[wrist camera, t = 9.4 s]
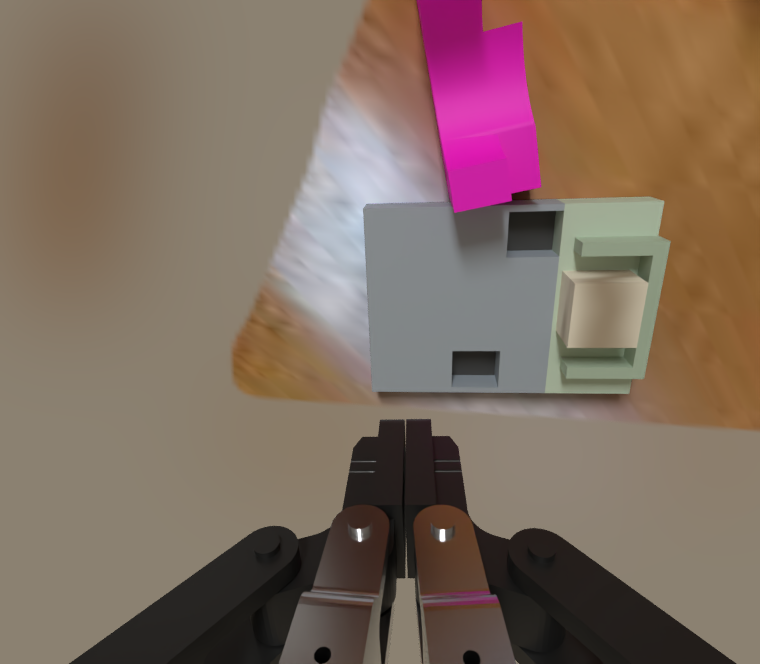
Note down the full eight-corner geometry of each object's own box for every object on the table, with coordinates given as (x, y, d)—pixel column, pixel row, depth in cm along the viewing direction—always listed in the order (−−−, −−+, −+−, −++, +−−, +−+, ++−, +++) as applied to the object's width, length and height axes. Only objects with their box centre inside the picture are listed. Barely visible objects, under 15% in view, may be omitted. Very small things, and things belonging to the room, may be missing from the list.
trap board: (649, 196, 38) (677, 205, 33) (618, 379, 44) (638, 406, 40) (366, 204, 40) (360, 213, 35) (374, 378, 46) (370, 403, 42)
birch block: (629, 269, 37) (648, 283, 34) (619, 329, 39) (636, 347, 36) (562, 270, 38) (575, 283, 35) (555, 330, 40) (567, 347, 37)
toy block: (528, 180, 38) (551, 192, 31) (449, 197, 39) (454, 212, 32) (504, -48, 33) (526, -94, 26) (413, -21, 34) (410, -59, 27)
